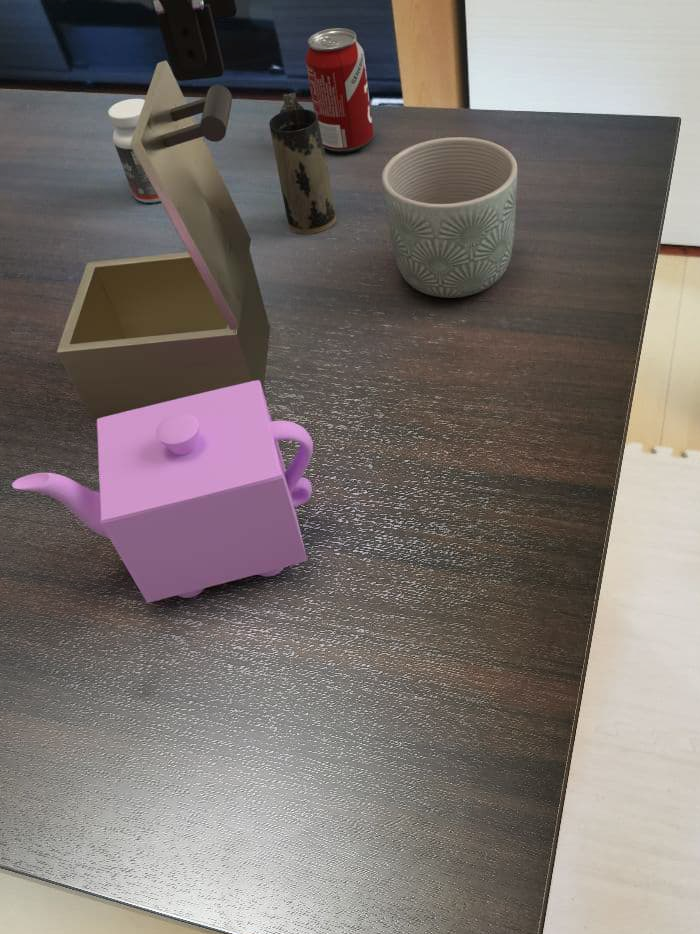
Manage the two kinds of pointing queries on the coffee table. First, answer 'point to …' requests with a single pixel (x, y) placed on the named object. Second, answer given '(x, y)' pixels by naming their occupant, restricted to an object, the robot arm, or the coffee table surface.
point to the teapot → (193, 491)
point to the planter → (451, 214)
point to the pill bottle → (125, 122)
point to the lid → (195, 184)
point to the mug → (302, 168)
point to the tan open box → (157, 335)
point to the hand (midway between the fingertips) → (208, 45)
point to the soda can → (339, 89)
